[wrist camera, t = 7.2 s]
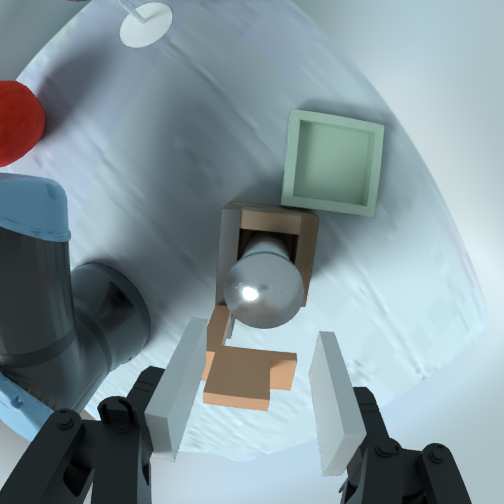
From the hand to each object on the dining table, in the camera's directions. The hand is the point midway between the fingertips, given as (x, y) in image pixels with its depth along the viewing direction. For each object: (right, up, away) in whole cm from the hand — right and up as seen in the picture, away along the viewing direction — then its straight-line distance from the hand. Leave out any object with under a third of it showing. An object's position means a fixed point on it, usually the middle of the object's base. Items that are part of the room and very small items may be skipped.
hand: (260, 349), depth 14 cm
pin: (+1, +5, +19) cm, 20 cm away
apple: (-32, +23, +17) cm, 43 cm away
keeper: (0, -2, +15) cm, 15 cm away
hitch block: (+1, +3, +21) cm, 21 cm away
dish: (+8, +15, +17) cm, 24 cm away
